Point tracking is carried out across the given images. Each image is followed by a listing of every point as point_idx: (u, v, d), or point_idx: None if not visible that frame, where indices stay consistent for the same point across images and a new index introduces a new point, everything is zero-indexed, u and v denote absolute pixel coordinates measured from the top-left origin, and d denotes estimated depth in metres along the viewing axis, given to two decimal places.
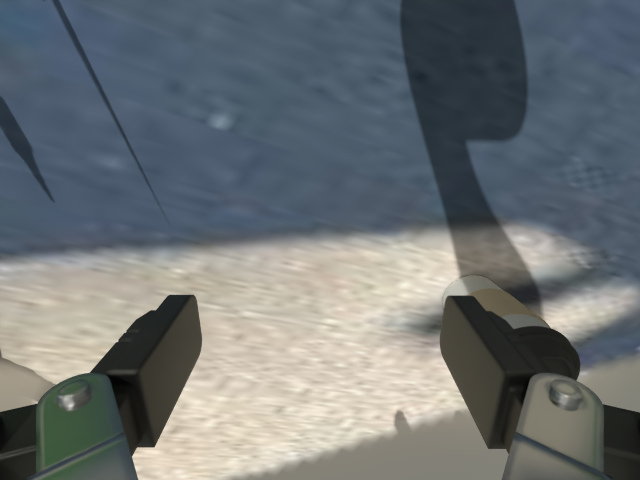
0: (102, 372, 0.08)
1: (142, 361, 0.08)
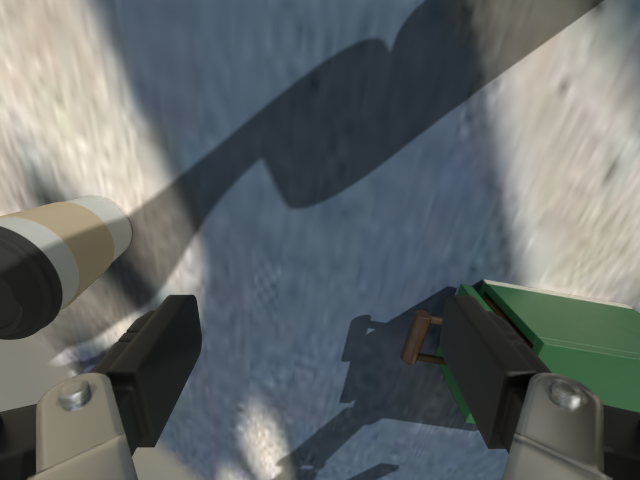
0: (102, 372, 0.08)
1: (142, 361, 0.08)
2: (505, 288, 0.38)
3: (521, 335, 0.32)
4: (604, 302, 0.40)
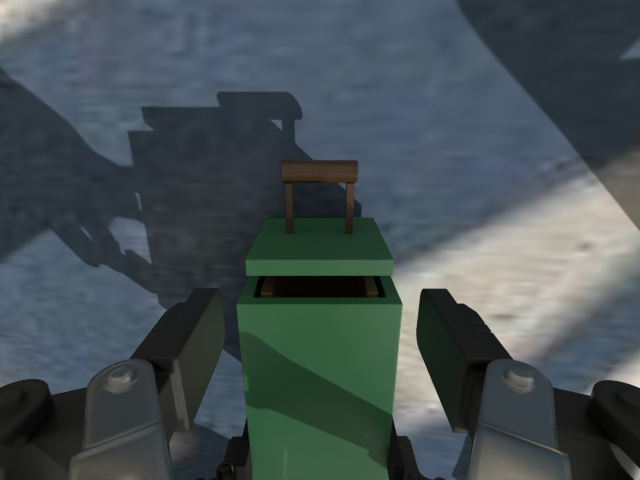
0: None
1: (179, 349, 0.08)
2: None
3: None
4: None
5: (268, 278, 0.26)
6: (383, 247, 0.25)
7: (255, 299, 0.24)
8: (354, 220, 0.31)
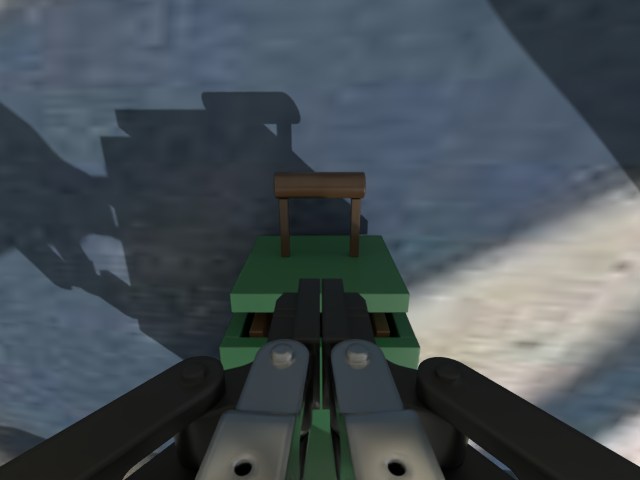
0: None
1: (318, 331, 0.09)
2: None
3: None
4: None
5: None
6: (395, 276, 0.21)
7: (242, 340, 0.20)
8: (360, 239, 0.27)
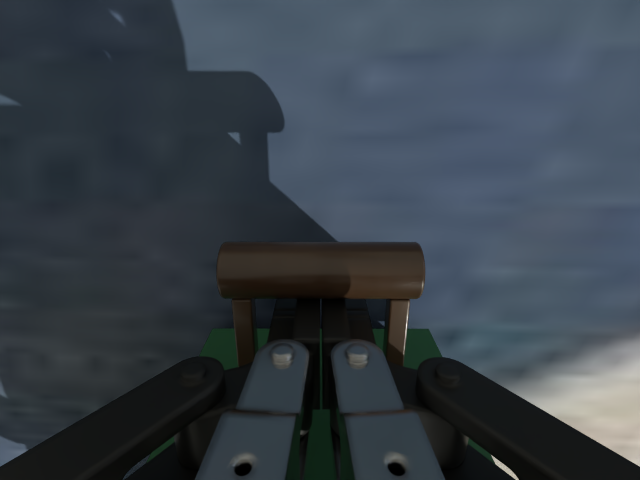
0: None
1: (318, 331, 0.09)
2: None
3: None
4: None
5: None
6: None
7: None
8: None
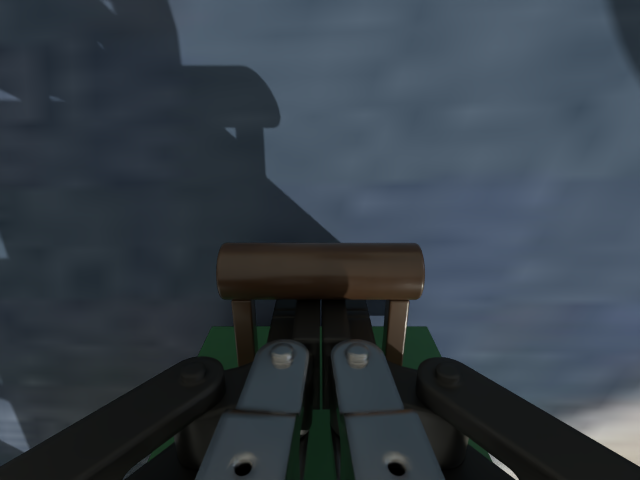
0: None
1: (318, 331, 0.09)
2: None
3: None
4: None
5: None
6: None
7: None
8: None
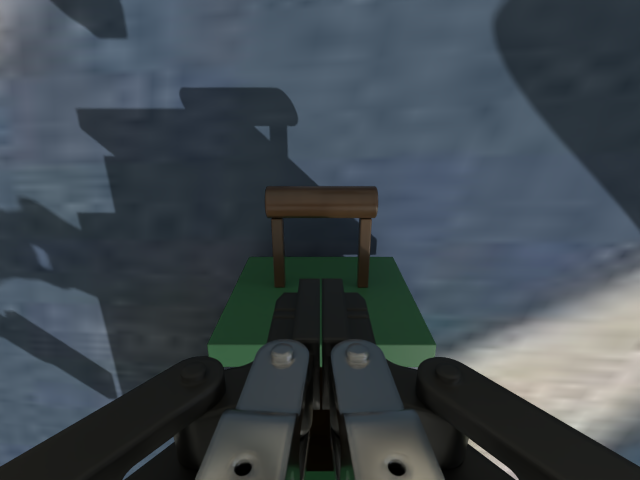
0: None
1: (318, 331, 0.09)
2: None
3: None
4: None
5: None
6: (416, 316, 0.17)
7: None
8: None
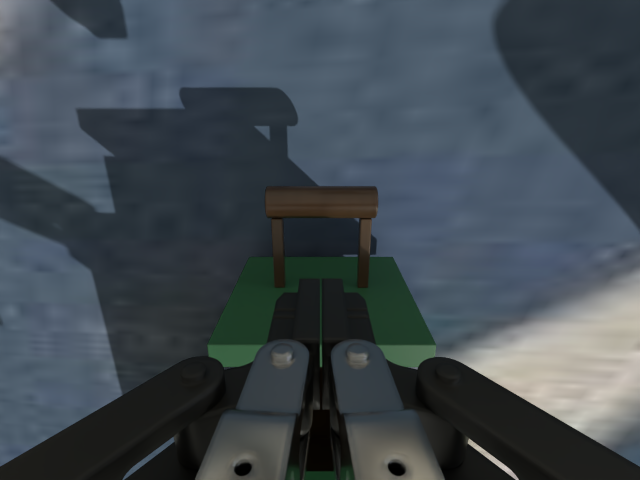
0: None
1: (318, 331, 0.09)
2: None
3: None
4: None
5: None
6: (416, 316, 0.17)
7: None
8: None
